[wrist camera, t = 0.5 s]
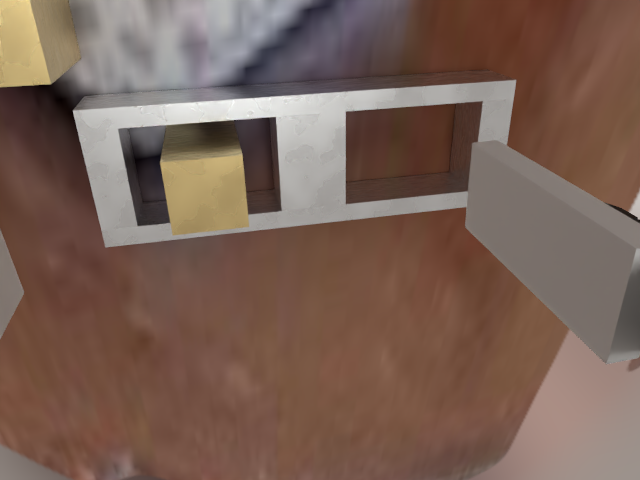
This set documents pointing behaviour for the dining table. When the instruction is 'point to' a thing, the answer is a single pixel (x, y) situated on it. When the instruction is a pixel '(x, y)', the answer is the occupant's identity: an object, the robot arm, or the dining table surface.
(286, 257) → the dining table surface
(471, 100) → the rail
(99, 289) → the dining table surface
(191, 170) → the tan wooden brick
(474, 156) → the robot arm
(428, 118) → the dining table surface
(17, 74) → the yellow rectangular block
